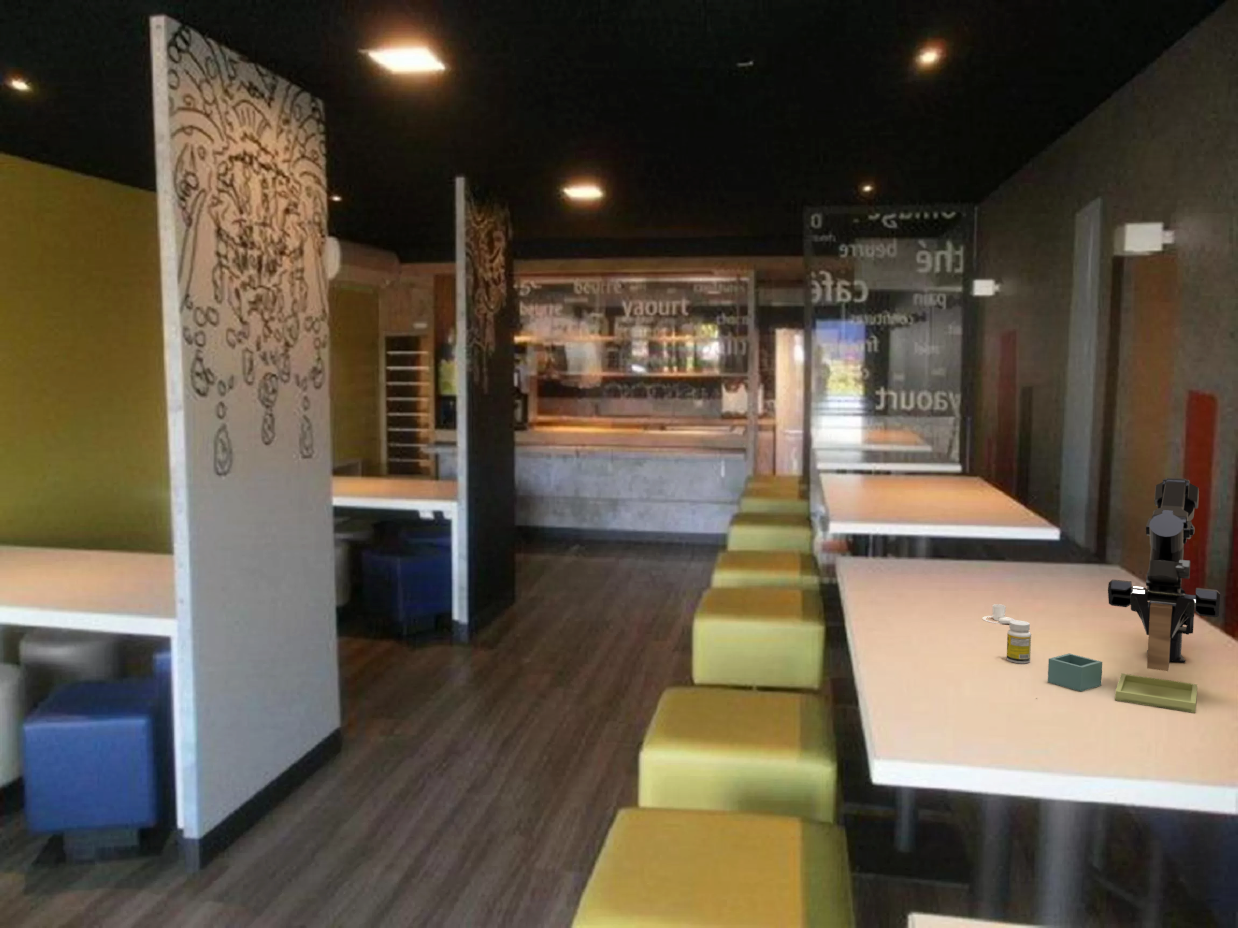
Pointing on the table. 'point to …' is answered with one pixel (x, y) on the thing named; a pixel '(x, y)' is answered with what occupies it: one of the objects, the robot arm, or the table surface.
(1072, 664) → the teal open box
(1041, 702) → the table surface
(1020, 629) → the supplement bottle
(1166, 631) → the walnut stick
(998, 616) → the teacup and saucer
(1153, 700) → the olive tray
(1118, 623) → the table surface
